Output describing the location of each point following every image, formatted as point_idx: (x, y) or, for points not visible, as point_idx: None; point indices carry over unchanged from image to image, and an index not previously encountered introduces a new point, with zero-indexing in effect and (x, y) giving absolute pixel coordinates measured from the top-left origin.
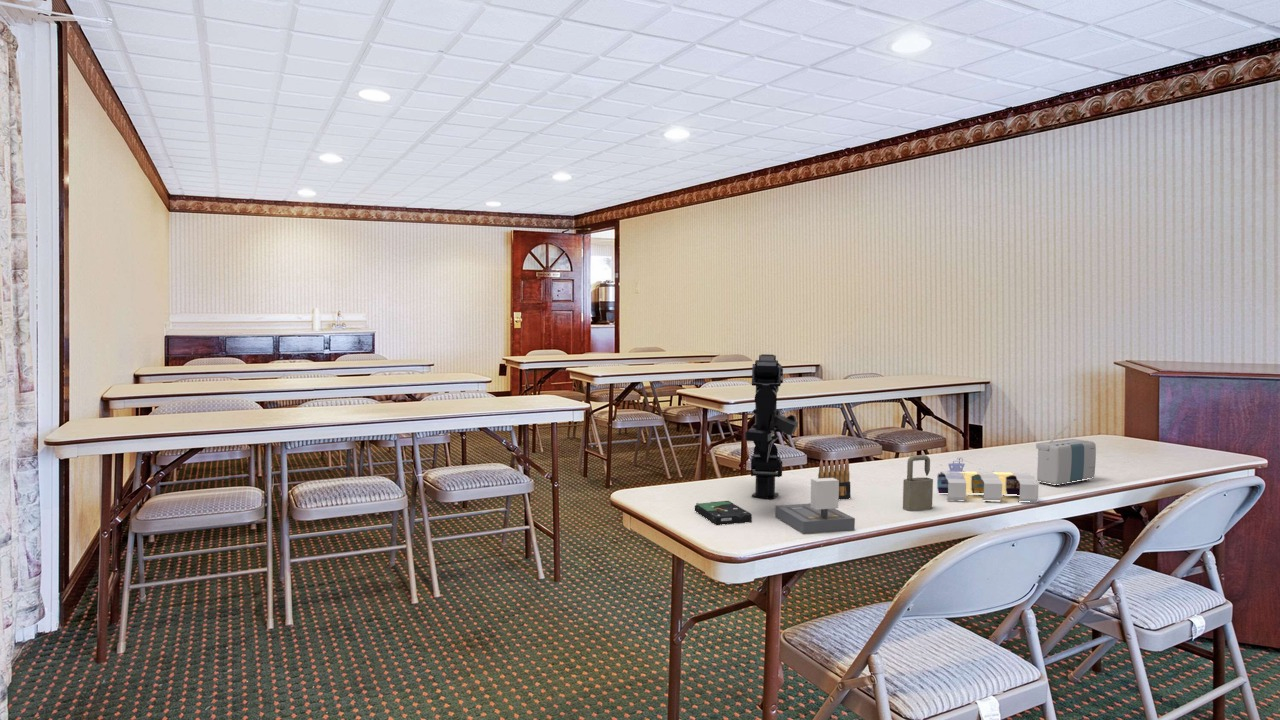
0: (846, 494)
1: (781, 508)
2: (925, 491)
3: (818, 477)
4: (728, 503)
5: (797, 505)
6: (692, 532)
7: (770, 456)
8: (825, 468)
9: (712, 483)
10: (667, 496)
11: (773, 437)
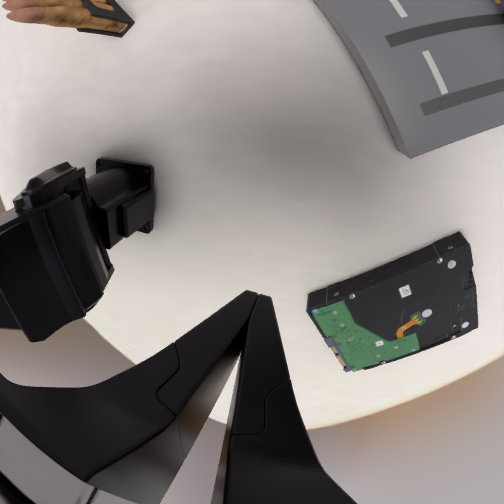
0: None
1: (448, 138)
2: None
3: (67, 23)
4: (340, 309)
5: (386, 62)
6: (500, 343)
7: (46, 248)
8: (35, 5)
9: (91, 309)
10: (230, 389)
11: (100, 488)
